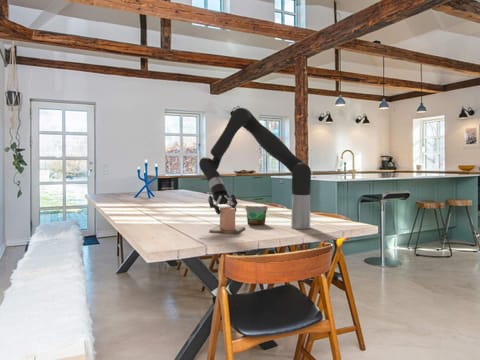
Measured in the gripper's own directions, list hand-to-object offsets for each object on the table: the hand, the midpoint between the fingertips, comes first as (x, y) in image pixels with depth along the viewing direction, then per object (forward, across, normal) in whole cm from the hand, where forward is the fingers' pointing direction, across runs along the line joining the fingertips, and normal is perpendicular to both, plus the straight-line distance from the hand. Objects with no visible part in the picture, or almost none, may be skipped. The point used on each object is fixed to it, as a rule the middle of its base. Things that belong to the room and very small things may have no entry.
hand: (227, 212), depth 171 cm
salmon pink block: (+6, 0, +5) cm, 8 cm away
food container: (+2, +20, +11) cm, 23 cm away
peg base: (+6, 0, +6) cm, 9 cm away
